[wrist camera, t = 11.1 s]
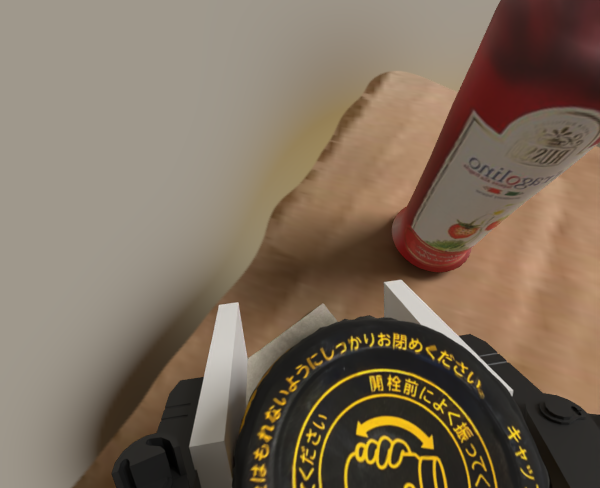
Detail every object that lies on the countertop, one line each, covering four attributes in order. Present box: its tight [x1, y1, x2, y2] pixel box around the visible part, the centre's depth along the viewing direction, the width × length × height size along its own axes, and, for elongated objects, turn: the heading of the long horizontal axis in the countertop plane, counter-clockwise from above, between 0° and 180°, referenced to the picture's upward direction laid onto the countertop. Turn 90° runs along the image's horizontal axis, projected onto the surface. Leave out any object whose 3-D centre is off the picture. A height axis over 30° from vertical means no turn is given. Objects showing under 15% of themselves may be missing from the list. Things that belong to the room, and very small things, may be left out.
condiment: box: [232, 304, 549, 488], centre depth 11 cm, size 7×8×12 cm
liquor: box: [392, 0, 600, 272], centre depth 18 cm, size 7×7×28 cm
